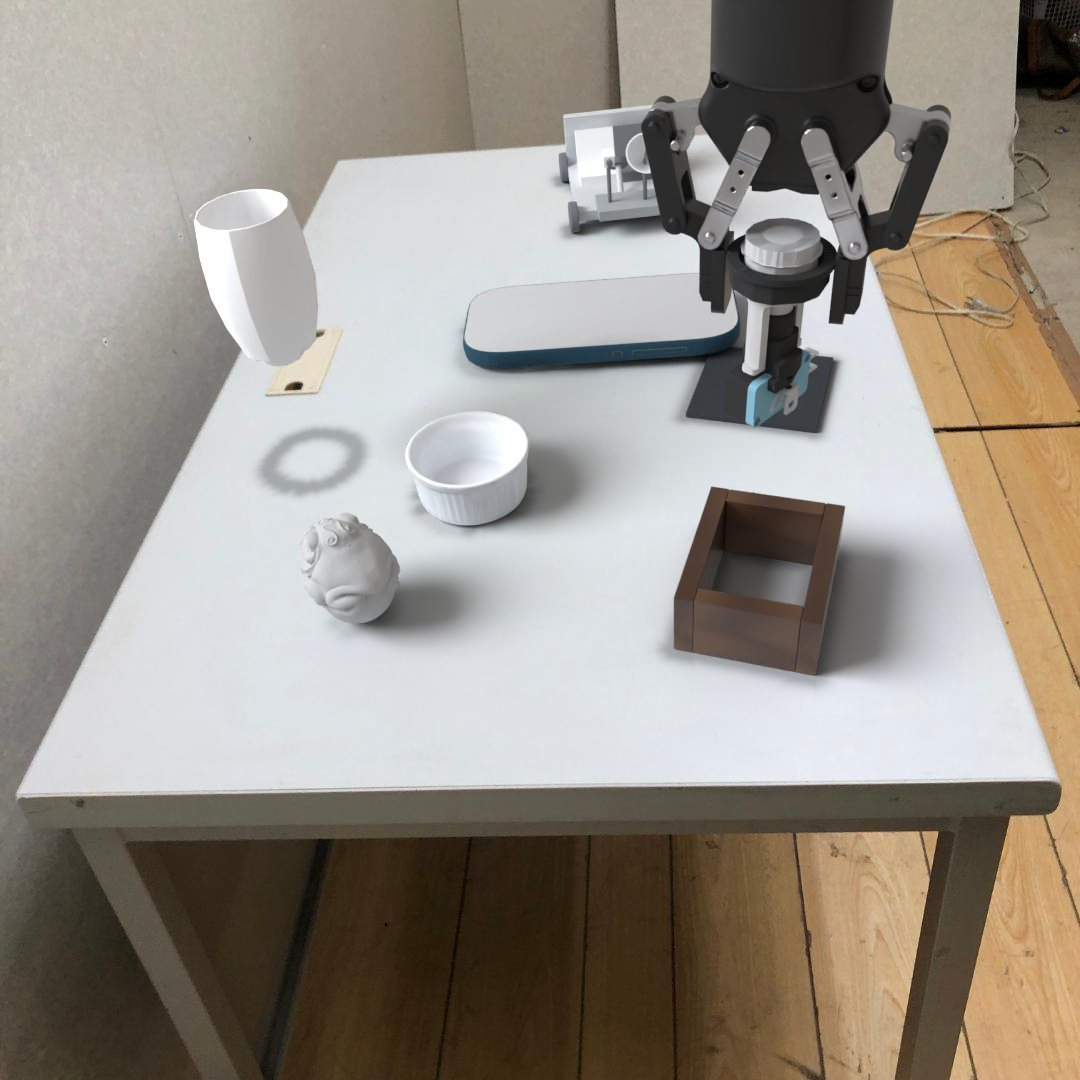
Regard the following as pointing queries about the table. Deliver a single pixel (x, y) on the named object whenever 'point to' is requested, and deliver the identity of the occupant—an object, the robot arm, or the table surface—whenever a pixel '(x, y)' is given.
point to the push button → (774, 314)
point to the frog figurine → (348, 568)
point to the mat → (802, 418)
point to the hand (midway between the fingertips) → (779, 309)
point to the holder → (753, 622)
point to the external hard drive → (596, 322)
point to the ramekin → (469, 466)
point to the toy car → (607, 166)
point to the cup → (259, 273)
